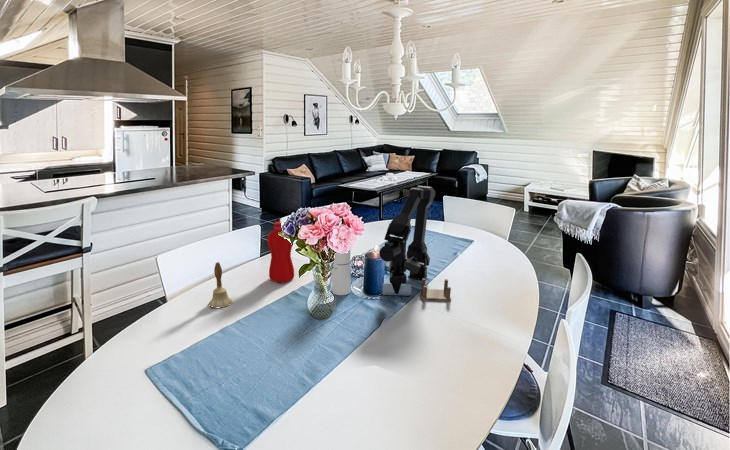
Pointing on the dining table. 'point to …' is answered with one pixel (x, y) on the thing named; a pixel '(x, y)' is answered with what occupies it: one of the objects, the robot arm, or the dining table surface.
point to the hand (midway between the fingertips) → (396, 291)
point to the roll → (404, 290)
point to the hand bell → (219, 290)
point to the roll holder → (436, 292)
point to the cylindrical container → (341, 274)
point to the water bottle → (280, 256)
